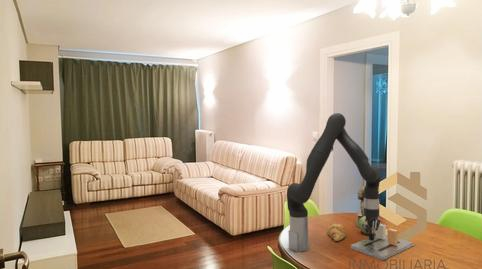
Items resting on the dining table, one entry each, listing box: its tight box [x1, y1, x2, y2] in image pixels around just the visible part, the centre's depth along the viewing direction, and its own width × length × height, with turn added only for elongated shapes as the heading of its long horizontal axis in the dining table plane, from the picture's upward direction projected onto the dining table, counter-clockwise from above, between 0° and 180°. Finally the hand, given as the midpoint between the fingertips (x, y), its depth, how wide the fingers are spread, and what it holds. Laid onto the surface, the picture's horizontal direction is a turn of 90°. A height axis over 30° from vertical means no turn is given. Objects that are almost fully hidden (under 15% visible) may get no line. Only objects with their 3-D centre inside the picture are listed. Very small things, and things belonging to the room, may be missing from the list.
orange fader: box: [386, 228, 399, 245], centre depth 169 cm, size 2×4×7 cm, turn 36°
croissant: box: [326, 222, 347, 242], centre depth 189 cm, size 21×10×8 cm, turn 166°
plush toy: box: [354, 186, 365, 228], centre depth 202 cm, size 14×14×25 cm
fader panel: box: [350, 234, 414, 261], centre depth 171 cm, size 26×18×2 cm
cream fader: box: [375, 223, 387, 239], centre depth 177 cm, size 2×4×7 cm, turn 35°
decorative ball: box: [358, 216, 369, 235], centre depth 190 cm, size 10×10×10 cm
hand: (371, 240), depth 173 cm, fingers closed
